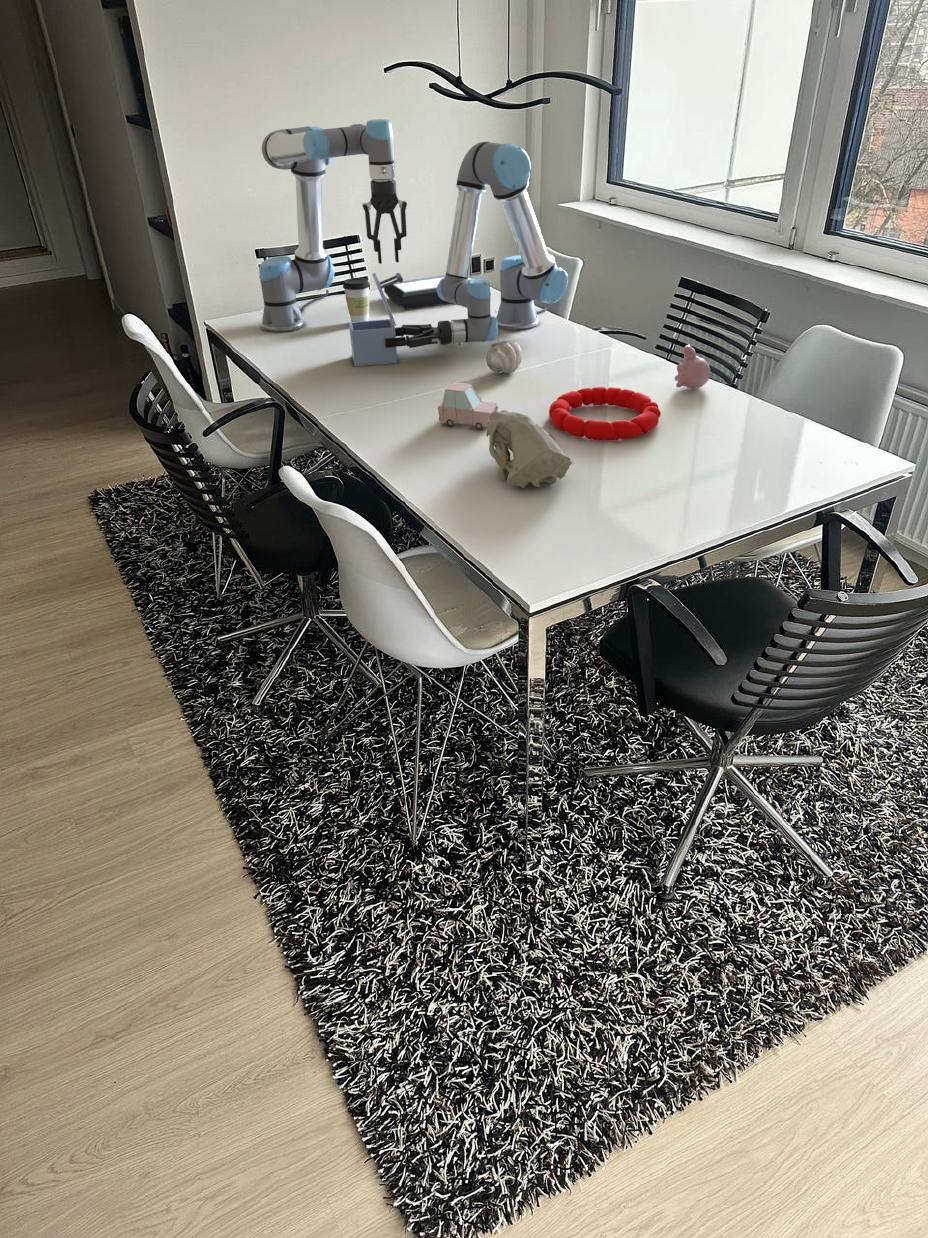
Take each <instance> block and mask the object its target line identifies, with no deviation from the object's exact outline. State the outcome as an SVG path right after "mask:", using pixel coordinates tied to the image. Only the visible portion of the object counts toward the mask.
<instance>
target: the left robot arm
mask: <svg viewBox="0 0 928 1238" xmlns="http://www.w3.org/2000/svg"><path fill="white" fill-rule="evenodd" d="M394 146H395V145H394V133H393V125H392V122H391V121H390V119H386V118H385V119H383V118H381V119H380V118H379V119H370V120H367V121H366V123H365V125H364V124H362V123H358V124H356V123H355V124H354V123H353V124H351V125H349V126H342V127H333V128H322V127H320V126H309V125H307V126H301V127H300V126H299V127H294V128H285V129H277V130H273V131H271V132H269V133H268V134H267V135H266V136H265V137H264V138H263V140H262V144H261V154H262V157H263V159H264V160H265V162H266V163H267V164H268V165H269V166H270V167H272V168H275V169H278V170H283V171H285V170H287V171H288V170H290V173H291V174H292V175H293V176H294V177H295V190H296V191H295V193H296V194H295V195H296V215H297V216H296V218H297V220H296V221H297V239H298V243H297V244H298V247H297V248H296V249H295V250H294V258H293V259H291V257H290V256H288V255H279V256H273V257H270V258H266V259H265V260H263V261H262V262H261V263H260V265H259V266H258V270H259V271H258V273H259V281H260V287H261V292H262V299H263V313H262V319H261V326H262V330H264V331H265V332H271V333H286V332H293V331H296V330H297V331H298V330H300V329H302V328H304V326H305V319H304V317H303V314H302V313H303V311H304V309H305V308H306V307H307V306H309V305H311V304H312V303H314V302H316V301H318V300H321V299H324V298H326V297H327V296H328V295H329V293H330V291H329V289H328V288H329V287H330V286H331V285H332V284H333V281H334V279H335V266H334V261H333V259H332V257H331V256H330V255H329V254H328V251H327V250H326V249H325V248H324V237H323V236H324V235H323V233H324V232H323V231H324V230H323V196H322V195H323V193H322V179H323V177H324V176H325V175H326V171H327V169H326V168H327V167H326V166H329V165H330V164H332V161H333V158H339V157H340V158H341V157H350V156H357V155H367V156H368V166H369V167H368V168H369V178H370V193H371V194H370V199H369V201H368V202H366V203H365V202H362V204H361V206H362V208H363V210H364V219H365V230H366V231H365V232H366V237H367V239H368V240H371V241H372V243H373V250H374V252H375V253H377V261H378V264H380V265H381V264H382V262H383V259H382V248H381V247H382V246H381V240H380V239H379V232H380V228H381V227H380V226H381V221H382V215H384V214H387V215H389V216H390V221H391V224H392V227H393V231H394V234H395V237H394V238H393V247H394V259H395V260H394V261H395V263H400V258H399V257H400V256H399V251H401V250H402V239H403V238H406V237H408V236H407V217H406V215H407V214H406V210H407V206H408V203H407V201H406V200H401V199H399V197H398V195H397V180H395V178H396V167H395V166H396V165H395V147H394ZM397 205H398V207H399V209H400V210H399V211H400V212H399V213H400V227H401V229H399V225H398V222H397V218H396V215H395V209H396V208H397ZM371 206H372V207H373V208H374V210H375V218H374V221H375V222H374V226H373V234H372V224H371V212H370V211H371V208H372V207H371ZM400 230H401V232H400ZM323 289H326V290H325V291H326V292H325V294H324V295H321V296H319V297H315V298H314V299H312V300H309V301H308V302H306V303H305V304H303V305H302V307H301V308H300V307H299V306H298V305H299V304H298V303H297V295H298V294H305V293H310V292H315V291H321V290H323Z"/></svg>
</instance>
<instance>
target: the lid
mask: <svg viewBox="0 0 928 1238" xmlns="http://www.w3.org/2000/svg"><path fill="white" fill-rule="evenodd" d="M372 277H373V280H374V282H375V284H376V287H377V290H378V292H379V295H380V297H381V300H382V302H383V304H384V307H385V310H386V312H387V315H388V317H389V319H390V320H391V322H392V324H393V327H397V323H396V321H395V319H394V316H393V312H392V311H391V308H390V306H389V303H388V301H387V298H386V296H385V295H386V294H385V292H384V287H387V286H389V285H392V284H394V283H396V282H402V281H404V278H403V276H402V275H401V273H400V272H397V273H395V275H394V276H391V277H388V278H386V279H383V280H382V281H380V280H379V279H378V276H377V273H376V272H373V273H372Z"/></svg>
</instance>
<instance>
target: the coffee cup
mask: <svg viewBox="0 0 928 1238" xmlns="http://www.w3.org/2000/svg"><path fill="white" fill-rule="evenodd" d="M370 287H371V283H370V282H369V279H367V278H365V277H351V278H347V279H345V280H344V281H343V285H342V288H343V290H344V297H345V301H346V305H347V310H348V314H349V318H350V322H360V321H369V317H370V316H369V313H370Z"/></svg>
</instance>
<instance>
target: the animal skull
mask: <svg viewBox="0 0 928 1238" xmlns="http://www.w3.org/2000/svg"><path fill="white" fill-rule="evenodd" d="M485 436H486V438H487V437H489V438H488V440H489V444H488V445H489V446H488V450H489V454H490V456H491V457H492V458H493V459H494V460H495V462H496V464H497V466H499V468H500V470H501V471H502V472H501V478H502V479H507V480H506V484H507V486H517V487H518V486H519V488H523V489H524V488H526V486H527V485H529V483H531V485H533V486H534V487H536V488H540V485H541V484H542V482H544V483H549V484H550V485H553V484H555V483H556V482H557V480H561V479H563V478H565V476H566V474H567V472H568V471H569V469H570V467H571V466H572V464H573V462H572V461H571V458H570V457H568V456H567V455H565V453H564V451H562V449H561V448H560V446H559V444H557V443H556V439H555V438H554V436H553V435H551V434H550V433H548V432H547V431H546V430H545V429H544V428H542V427H541V426H539V425H538V424H537V423H536V424H535V422H534V421H533V419H532V418H531V417H530V416H529V415H527V414H524V413H519V412H515V411H509V410H507V409H502V410H500V411H499V410H497V411H496V412H492V413H491V414H490V422H488V423H487V427H486V435H485ZM511 453H512V454H511ZM511 455H512V457H513V458H512V460H511ZM507 474H508V475H507Z"/></svg>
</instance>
